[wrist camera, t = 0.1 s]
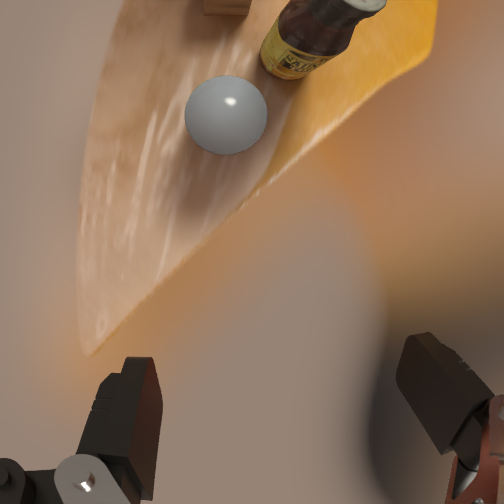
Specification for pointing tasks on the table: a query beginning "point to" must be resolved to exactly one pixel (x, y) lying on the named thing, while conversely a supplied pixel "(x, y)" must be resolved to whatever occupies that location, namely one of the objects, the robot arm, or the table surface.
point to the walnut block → (226, 7)
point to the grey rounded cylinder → (226, 115)
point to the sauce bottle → (312, 34)
